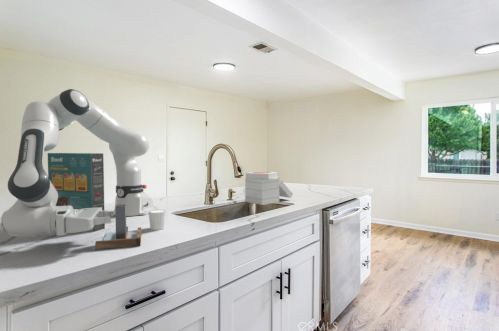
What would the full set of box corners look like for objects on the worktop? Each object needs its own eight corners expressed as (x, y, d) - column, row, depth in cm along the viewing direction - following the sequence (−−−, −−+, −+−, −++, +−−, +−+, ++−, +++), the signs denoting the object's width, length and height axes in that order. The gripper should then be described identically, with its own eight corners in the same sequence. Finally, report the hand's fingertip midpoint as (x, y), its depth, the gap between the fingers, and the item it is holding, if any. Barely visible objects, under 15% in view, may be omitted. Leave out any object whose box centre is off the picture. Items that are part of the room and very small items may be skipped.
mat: (106, 233, 111) (106, 232, 111) (141, 230, 115) (141, 229, 115) (98, 249, 93) (98, 248, 93) (140, 245, 97) (140, 244, 97)
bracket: (125, 241, 100) (125, 206, 99) (115, 242, 99) (115, 206, 98) (128, 231, 112) (127, 200, 112) (119, 232, 111) (118, 200, 111)
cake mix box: (104, 228, 119) (103, 153, 118) (92, 232, 113) (90, 153, 112) (63, 223, 126) (61, 153, 124) (49, 227, 120) (47, 153, 118)
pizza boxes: (295, 200, 189) (295, 172, 188) (261, 205, 169) (262, 174, 168) (273, 196, 203) (273, 170, 203) (239, 201, 183) (240, 172, 182)
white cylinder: (161, 225, 124) (161, 208, 124) (169, 228, 119) (169, 211, 119) (145, 228, 119) (145, 211, 119) (153, 231, 114) (153, 213, 114)
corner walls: (102, 237, 107) (102, 230, 107) (141, 234, 111) (141, 227, 111) (95, 250, 93) (95, 242, 93) (140, 245, 97) (140, 238, 97)
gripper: (73, 222, 105) (115, 219, 110) (56, 237, 86) (109, 233, 90) (72, 204, 105) (115, 202, 109) (55, 216, 85) (108, 212, 90)
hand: (112, 216), depth 100 cm, fingers open, 8 cm apart
